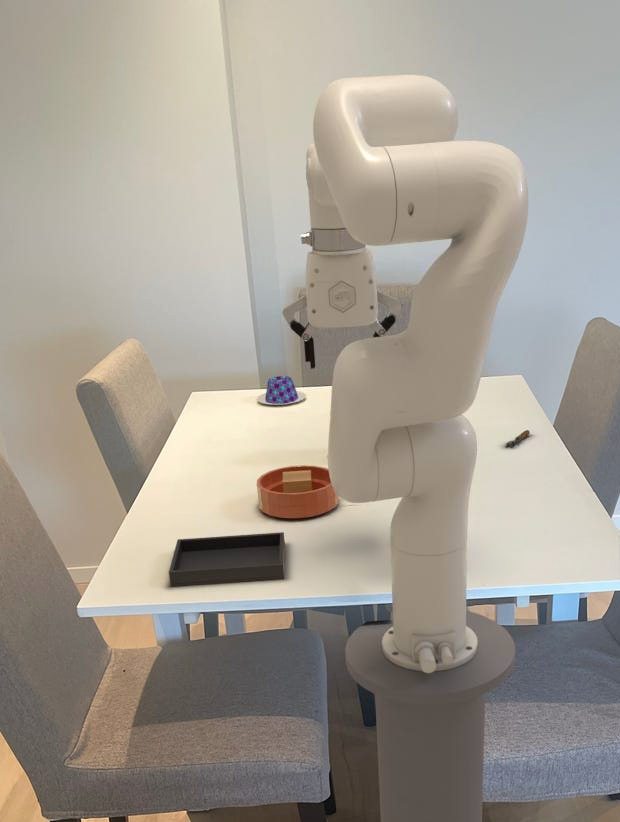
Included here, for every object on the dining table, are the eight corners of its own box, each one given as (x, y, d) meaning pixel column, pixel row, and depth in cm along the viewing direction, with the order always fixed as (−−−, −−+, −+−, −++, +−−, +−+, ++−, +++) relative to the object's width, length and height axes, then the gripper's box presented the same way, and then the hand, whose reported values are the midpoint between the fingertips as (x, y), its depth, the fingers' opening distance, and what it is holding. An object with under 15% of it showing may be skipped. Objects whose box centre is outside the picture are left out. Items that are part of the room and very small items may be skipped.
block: (313, 506, 164) (311, 479, 161) (284, 508, 163) (282, 481, 161) (312, 496, 168) (310, 470, 165) (285, 498, 168) (282, 471, 165)
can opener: (525, 434, 193) (525, 429, 193) (535, 436, 192) (535, 430, 191) (502, 446, 188) (502, 441, 187) (512, 448, 186) (512, 443, 186)
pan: (284, 578, 141) (282, 564, 139) (171, 586, 140) (168, 572, 139) (285, 545, 151) (283, 532, 150) (179, 552, 151) (177, 539, 150)
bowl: (340, 518, 160) (338, 491, 157) (258, 523, 160) (255, 496, 157) (337, 488, 172) (335, 463, 170) (261, 493, 172) (258, 468, 169)
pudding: (266, 392, 232) (264, 371, 229) (312, 393, 229) (310, 372, 226) (250, 406, 222) (248, 385, 219) (298, 407, 219) (296, 385, 216)
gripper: (276, 247, 126) (287, 374, 135) (402, 240, 126) (405, 367, 135) (277, 240, 132) (287, 362, 141) (397, 233, 133) (400, 354, 141)
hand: (345, 364), depth 138 cm, fingers open, 9 cm apart
